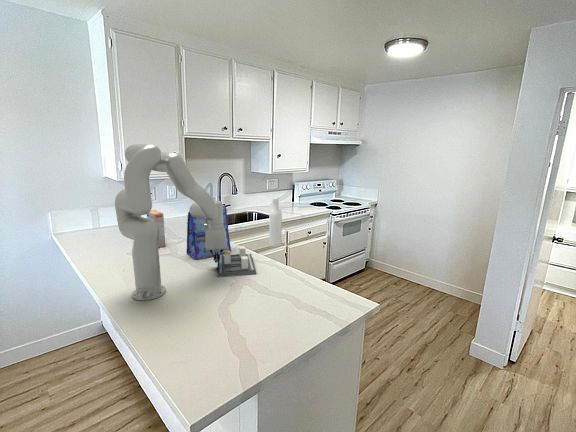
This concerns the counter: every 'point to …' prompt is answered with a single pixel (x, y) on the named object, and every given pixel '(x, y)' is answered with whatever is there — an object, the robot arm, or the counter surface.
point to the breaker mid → (227, 257)
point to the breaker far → (242, 251)
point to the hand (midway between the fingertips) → (216, 261)
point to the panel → (235, 266)
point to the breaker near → (244, 262)
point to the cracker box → (159, 220)
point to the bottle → (275, 225)
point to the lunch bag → (202, 236)
